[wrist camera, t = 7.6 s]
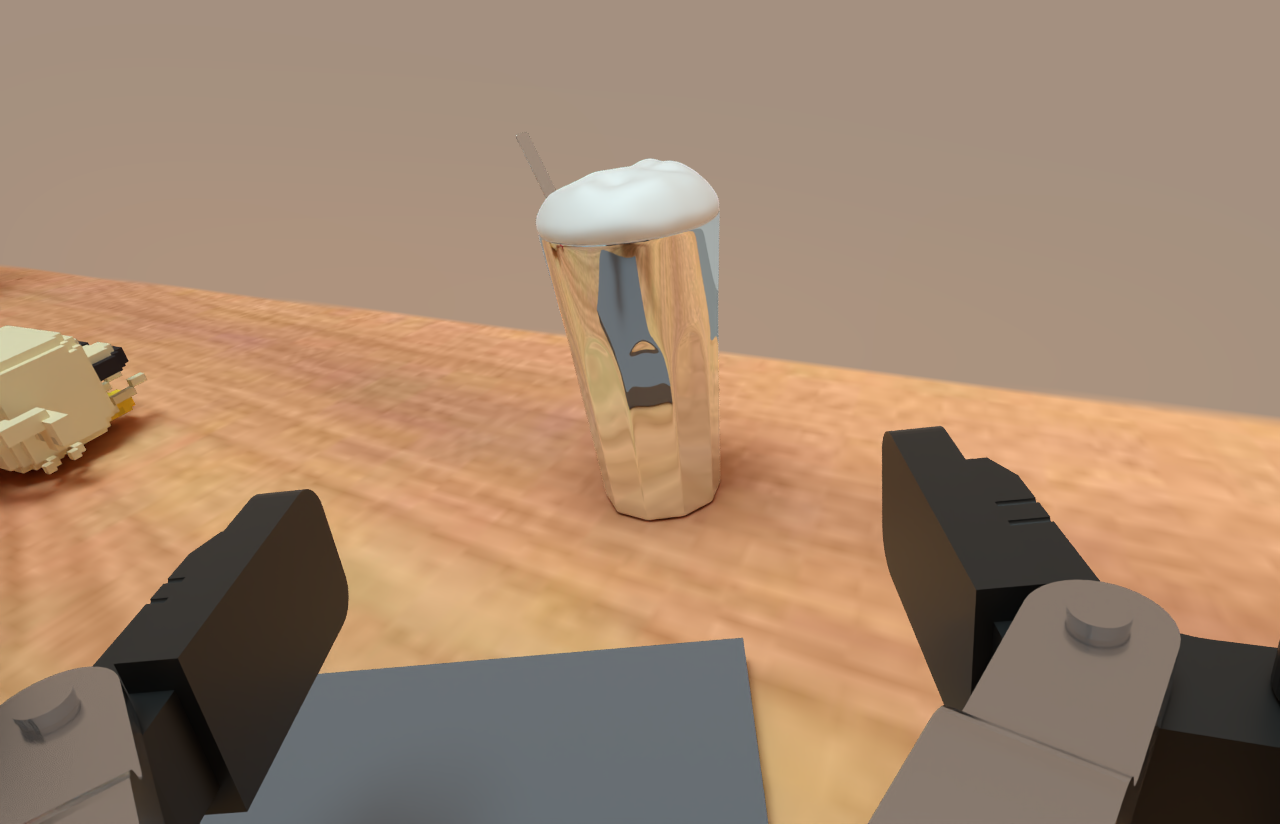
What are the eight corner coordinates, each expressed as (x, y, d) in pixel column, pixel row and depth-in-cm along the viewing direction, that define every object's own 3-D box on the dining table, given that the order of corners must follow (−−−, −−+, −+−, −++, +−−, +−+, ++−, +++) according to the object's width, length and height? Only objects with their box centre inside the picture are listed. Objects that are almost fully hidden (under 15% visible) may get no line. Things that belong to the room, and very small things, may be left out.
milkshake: (623, 437, 28) (575, 117, 24) (771, 469, 25) (746, 109, 21) (531, 506, 25) (457, 149, 20) (688, 551, 22) (640, 145, 17)
